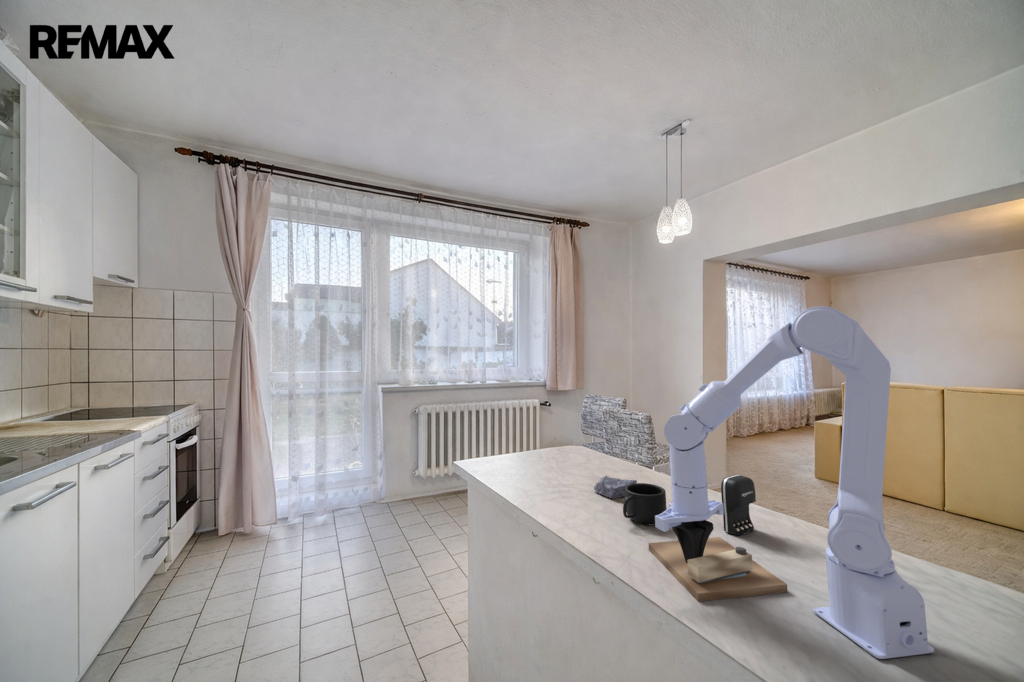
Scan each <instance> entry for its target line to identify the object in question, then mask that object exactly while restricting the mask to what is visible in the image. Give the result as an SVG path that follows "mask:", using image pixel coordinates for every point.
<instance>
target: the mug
mask: <svg viewBox="0 0 1024 682" xmlns="http://www.w3.org/2000/svg"><path fill="white" fill-rule="evenodd" d="M666 493H667V492H666V489H665V488H663V486H660V485H657V484H652V483H643V482H640V483H639V482H637V483H636V484H630V485H628V486H626V487H625V496H624V501H623V505H622V512H623V516H624V518H626V519H630V520H632V521H635V522H636V523H639V524H641V525H646V524H647V525H648V526H649V525H650V526H651V525H652V524H653V525H655V516H656V515H659V514H661V513H663V512H664V511H665V510H667V494H666Z"/></svg>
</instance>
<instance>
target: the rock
mask: <svg viewBox="0 0 1024 682" xmlns="http://www.w3.org/2000/svg"><path fill="white" fill-rule="evenodd" d="M636 483H638V481H637V479H620V478H616V477H609V476H607V475H605V476H603V477H601V478H600V479H599V481H597V482H596V483H595V484H594V486H593V490H595V491H596V492H597V493H596V492H595V491H594V492H595V493H596V494H598V493H599V494H601V495H600V496H604V497H606V498H608V497H609V499H610V498H612V499H611V500H615V499H617V498H622V497H625V487H626V486H628V485H630V484H636ZM599 494H598V495H599ZM614 498H615V499H614Z"/></svg>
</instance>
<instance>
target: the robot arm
mask: <svg viewBox="0 0 1024 682" xmlns="http://www.w3.org/2000/svg"><path fill="white" fill-rule="evenodd" d="M801 348H802V349H805V350H807V351H808V352H811V353H813V354H815V355H818V356H820V357H822V358H825V359H826V360H828V362H829V363H830V364H831V365H833V366H834V367H835V368H836V369H838V371H840V372H841V373H842V374H844V376H845V385H844V398H843V399H844V400H843V414H842V415H843V418H842V432H841V444H840V445H841V446H840V447H841V449H840V462H839V463H840V464H839V475H838V476H839V477H838V479H839V480H838V488H837V498H836V502H835V504H834V505H833V506H832V507H831V508H830V509H829V511H828V515H827V520H828V521H827V522H828V527H829V528H828V533H827V536H826V537H827V545H828V546H826V548H825V552H824V553H825V561H826V562H825V563H826V564H825V565H826V578H827V593H828V606H823V607H821V606H819V607H814V608H813V613H815V614H816V615H817V616H818V617H820V618H821V619H822V620H823V621H825V622H827V623H828V624H829V625H830V626H832V627H833V628H835V629H836V630H838V631H839V632H840V633H841V634H843V635H844V636H845V637H847V638H849V640H851V641H853V642H854V643H856V645H857V646H858V645H859V646H860V647H861V649H863V650H865V651H866V652H868V653H869V654H870V655H872V656H873V657H874V658H877V659H878V660H879V659H880V660H886V659H892V658H893V659H894V658H900V657H909V656H917V655H925V654H933V653H935V647H933V646H932V645H930V644H929V642H928V630H927V616H926V606H925V600H924V598H923V595H922V594H921V592H920V591H919V589H917V588H915V586H913V585H911V584H910V583H908V581H906V580H905V579H903V577H902V576H901V575H900V574H899V573H898V571H897V570H896V564H895V562H894V560H893V558H892V556H893V553H892V548H891V545H890V543H889V540H888V539H887V534H886V528H885V527H886V526H885V523H884V508H883V507H884V506H883V505H884V503H883V491H884V476H885V475H884V474H885V461H886V460H885V459H886V448H887V447H886V446H887V434H888V433H887V432H888V431H887V429H888V416H889V415H888V414H889V401H890V400H889V399H890V386H891V385H890V384H891V372H892V371H891V370H892V369H891V364H890V361H889V360H888V358H887V357H886V356H885V354H883V352H882V351H881V349H879V347H878V346H877V345H876V343H874V342H873V340H872V339H871V338H870V336H869V335H868V334H867V333H866V332H865V331H864V329H863V328H862V326H861V325H860V324H859V322H858V321H857V320H855V319H854V318H852V317H850V316H848V315H847V314H845V313H843V312H841V311H840V310H838V309H836V308H834V307H831V306H830V307H829V306H822V305H819V306H812V307H808V308H807V309H804V310H803V311H801V312H800V313H799V314H797V316H796V317H794V320H793V323H791V322H788V323H786V324H784V325H783V326H782V327H780V328H778V329H777V330H776V331H775V332H774V333H773V334H771V335H770V336H769V337H768V338H767V339H766V340H765V341H763V342H762V343H761V344H760V345H759V346H758V347H757V348H756V349H755V350H754V352H753V353H752V354H750V355H749V356H748V357H747V358H746V359H745V360H744V361H743V363H741V364H740V365H739V366H738V367H737V368H736V370H734V371H733V372H732V373H731V374H730V375H729V377H727V378H726V380H711V382H709V383H708V384H707V383H703V384H702V385H700V387H698V390H699V391H700V392H699V393H698V394H697V395H695V396H694V397H693V399H691V400H690V401H689V402H688V403H687V404H685V403H683V404H682V405H681V406H680V407H679V409H680V411H681V413H679V414H674V415H671V416H670V417H669V418H668V420H667V421H666V423H665V424H664V428H663V434H664V437H665V439H666V441H667V443H668V444H669V468H670V484H671V487H670V488H671V501H670V502H669V503H668V508H666V510H665V511H664V512H663V513H661V514H659V515H656V516H655V524H654V526H655V528H656V529H658V530H660V531H662V532H668V531H669V529H670V528H671V529H672V531H673V532H674V534H675V536H676V539H677V541H679V543H680V545H681V548H682V551H683V554H684V558H685V561H686V563H688V561H687V560H689V559H694V558H698V557H703V553H704V549H705V545H706V542H707V540H708V538H710V535H711V534H712V532H713V531H714V524H713V522H711V521H709V519H710V518H711V517H712V516H714V515H718V516H721V515H722V516H723V514H724V508H723V503H722V501H719V500H715V499H712V500H709V497H708V496H709V495H708V494H709V493H708V477H707V459H706V452H705V442H704V441H705V440H706V439H707V438H708V436H709V433H711V432H712V433H713V432H714V431H715V429H717V428H718V427H720V425H722V424H723V423H724V422H725V421H727V419H728V418H730V417H731V416H733V414H734V413H735V412H737V411H738V410H740V408H741V407H742V394H743V393H744V392H746V391H747V390H748V389H749V388H751V386H753V385H754V384H755V383H756V382H757V381H759V380H760V379H761V378H763V377H764V376H765V375H766V374H767V373H768V372H769V371H771V370H772V369H773V368H775V367H776V366H777V365H778V364H779V363H780V362H782V361H784V360H788V359H791V358H794V357H798V356H801V355H804V352H803V350H802V349H801Z"/></svg>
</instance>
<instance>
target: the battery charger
mask: <svg viewBox="0 0 1024 682" xmlns="http://www.w3.org/2000/svg"><path fill="white" fill-rule="evenodd" d="M720 485H721V486H720V489H721V490H720V491H721V503H723V508H724V514H722V517H723V521H722V522H723V531H724V532H725V533H727V534H731V535H733V536H734V535H735V536H742V535H745V534H749V533H750V532H753V531H754V530H755V525H754V524H753V522H752V520H751V515H750V504H754V503H756V502H757V500H756V498H757V497H756V488H755V483H754V481H753V480H752V478H750V477H748V476H744V475H742V474H734V475H730V476H726V477H723V479H722V480H721V484H720Z"/></svg>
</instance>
